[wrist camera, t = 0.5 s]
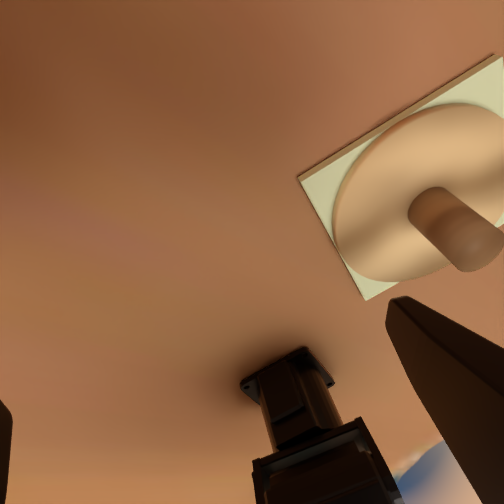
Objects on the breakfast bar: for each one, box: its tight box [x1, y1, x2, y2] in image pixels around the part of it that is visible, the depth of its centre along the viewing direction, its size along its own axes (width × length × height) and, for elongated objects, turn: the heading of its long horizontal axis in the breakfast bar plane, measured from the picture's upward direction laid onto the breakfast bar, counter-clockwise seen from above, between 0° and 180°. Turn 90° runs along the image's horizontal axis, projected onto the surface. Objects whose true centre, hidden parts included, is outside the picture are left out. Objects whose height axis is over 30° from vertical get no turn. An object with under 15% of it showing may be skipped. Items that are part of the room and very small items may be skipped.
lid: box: [332, 103, 504, 282], centre depth 23 cm, size 12×12×5 cm
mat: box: [297, 54, 504, 301], centre depth 25 cm, size 12×12×1 cm
